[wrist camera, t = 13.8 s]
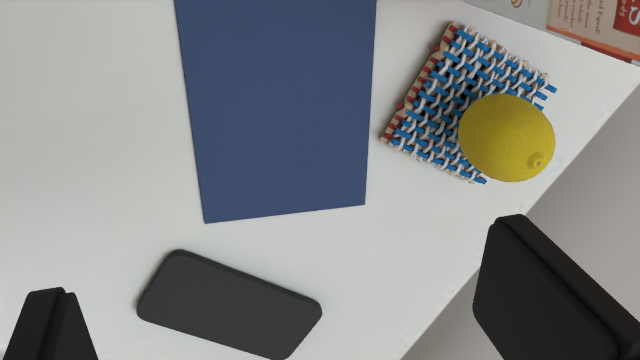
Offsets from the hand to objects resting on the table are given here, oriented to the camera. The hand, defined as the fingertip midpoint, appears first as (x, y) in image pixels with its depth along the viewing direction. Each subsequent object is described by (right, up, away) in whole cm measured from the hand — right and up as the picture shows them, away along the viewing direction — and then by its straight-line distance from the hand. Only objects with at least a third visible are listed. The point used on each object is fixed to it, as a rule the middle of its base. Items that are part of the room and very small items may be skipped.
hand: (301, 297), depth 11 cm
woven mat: (+11, +9, +27) cm, 31 cm away
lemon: (+12, +8, +25) cm, 29 cm away
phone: (-7, -8, +32) cm, 33 cm away
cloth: (-2, +8, +24) cm, 25 cm away
